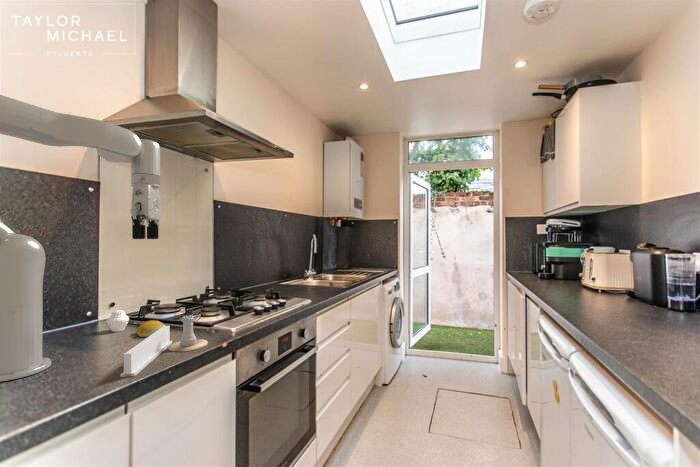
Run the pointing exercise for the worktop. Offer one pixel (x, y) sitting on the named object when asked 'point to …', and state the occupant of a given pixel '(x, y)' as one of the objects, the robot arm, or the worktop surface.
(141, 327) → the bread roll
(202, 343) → the cork coaster
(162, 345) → the divider wall
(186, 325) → the rook chess piece
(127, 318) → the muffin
